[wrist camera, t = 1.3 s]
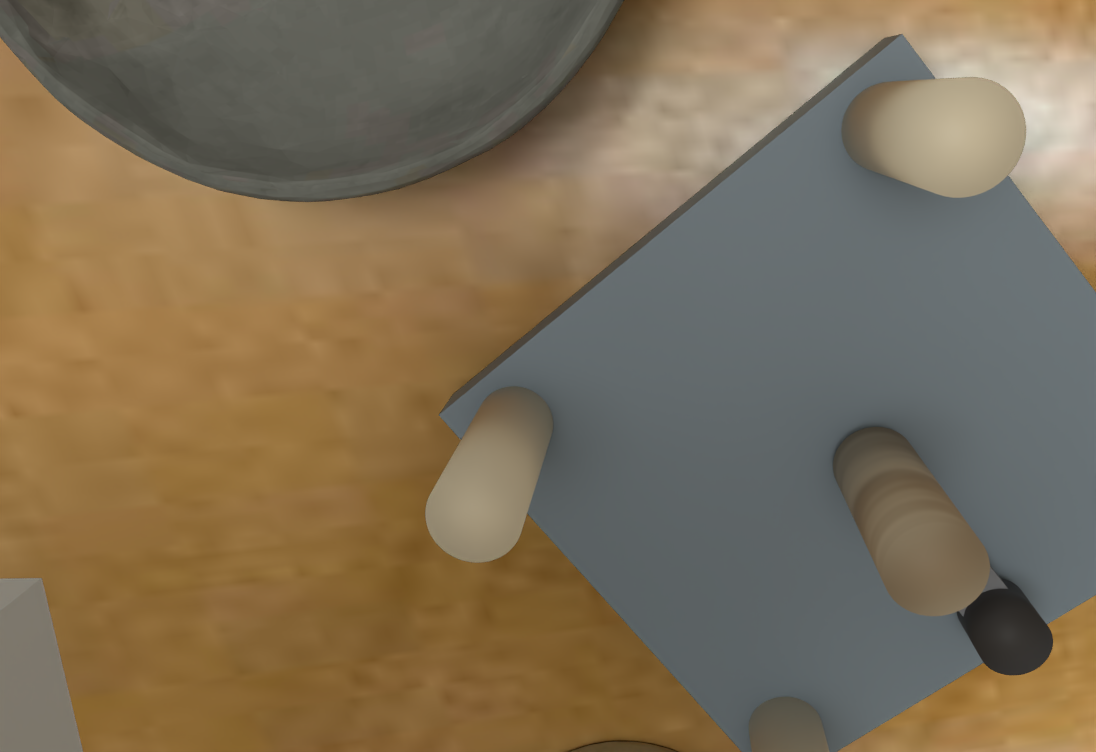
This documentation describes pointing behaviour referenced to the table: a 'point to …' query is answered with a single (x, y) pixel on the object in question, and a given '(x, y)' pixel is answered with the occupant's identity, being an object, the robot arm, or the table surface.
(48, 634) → the robot arm
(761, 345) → the stool seat
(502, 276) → the table surface
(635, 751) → the teapot
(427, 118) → the bowl
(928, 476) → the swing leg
